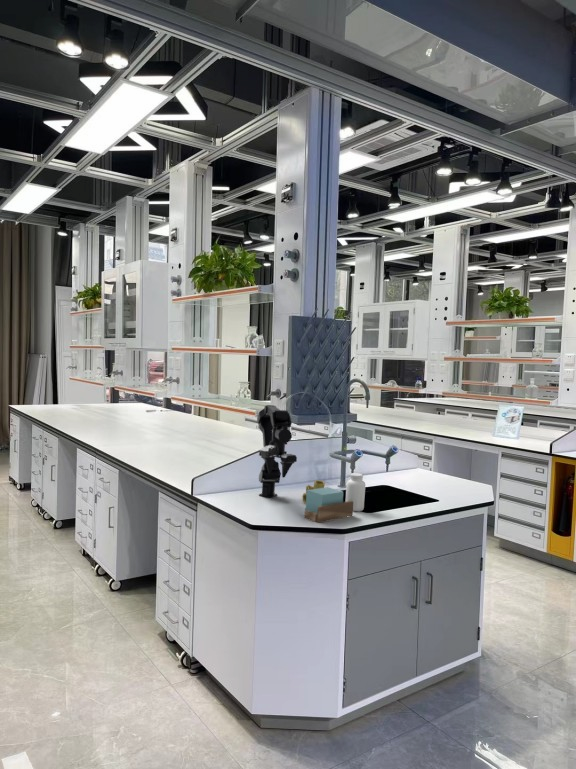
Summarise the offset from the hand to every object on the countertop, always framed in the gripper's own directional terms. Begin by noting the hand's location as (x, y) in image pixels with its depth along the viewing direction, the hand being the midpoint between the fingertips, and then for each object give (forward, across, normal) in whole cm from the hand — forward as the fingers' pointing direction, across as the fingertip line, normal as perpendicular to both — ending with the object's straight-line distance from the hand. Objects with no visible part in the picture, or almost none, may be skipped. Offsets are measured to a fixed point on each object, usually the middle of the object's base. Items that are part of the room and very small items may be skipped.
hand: (276, 475), depth 243 cm
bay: (+12, +27, +6) cm, 30 cm away
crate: (+12, +24, +6) cm, 28 cm away
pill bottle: (+12, +24, +24) cm, 36 cm away
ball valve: (+12, +6, +18) cm, 23 cm away
